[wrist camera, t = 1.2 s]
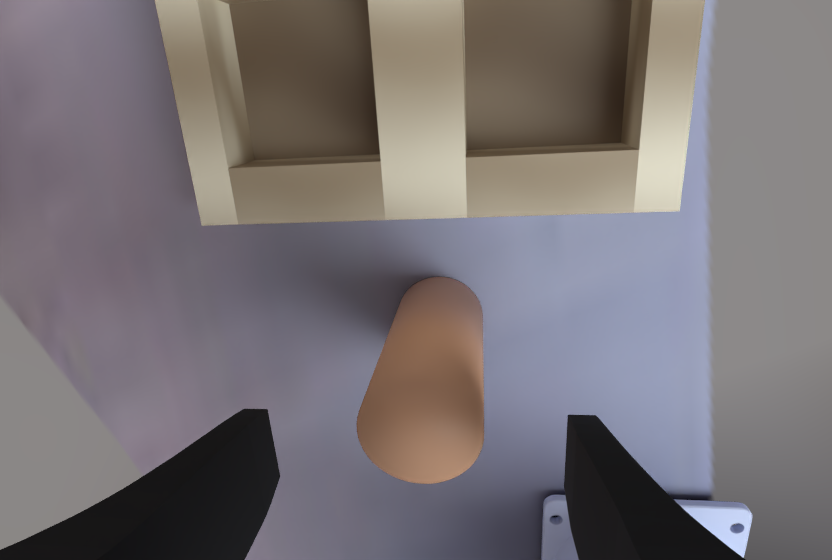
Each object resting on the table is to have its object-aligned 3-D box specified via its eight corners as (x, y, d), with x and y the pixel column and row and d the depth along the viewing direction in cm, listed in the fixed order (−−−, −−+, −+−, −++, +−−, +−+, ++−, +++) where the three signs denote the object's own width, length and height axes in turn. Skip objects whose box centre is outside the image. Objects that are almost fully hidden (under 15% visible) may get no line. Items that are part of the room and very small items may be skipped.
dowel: (483, 354, 20) (484, 485, 13) (401, 354, 20) (362, 481, 13) (482, 276, 18) (483, 377, 12) (395, 277, 19) (350, 375, 12)
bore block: (646, 191, 17) (679, 211, 14) (243, 205, 19) (201, 225, 16) (674, -100, 14) (722, -147, 11) (198, -49, 16) (138, -79, 13)
